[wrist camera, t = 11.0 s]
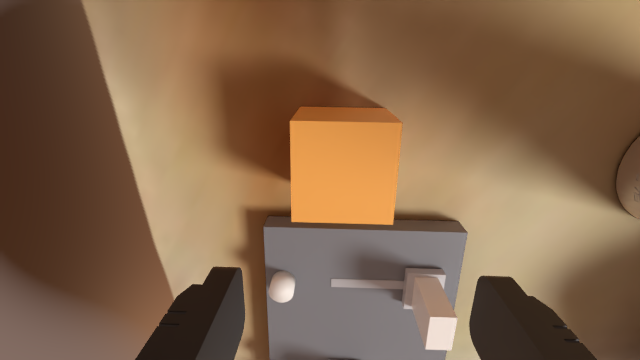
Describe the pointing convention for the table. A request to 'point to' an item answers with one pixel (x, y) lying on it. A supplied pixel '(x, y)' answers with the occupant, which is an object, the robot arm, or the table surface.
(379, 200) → the orange block
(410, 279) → the untagged breaker
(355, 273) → the breaker panel
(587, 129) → the table surface
